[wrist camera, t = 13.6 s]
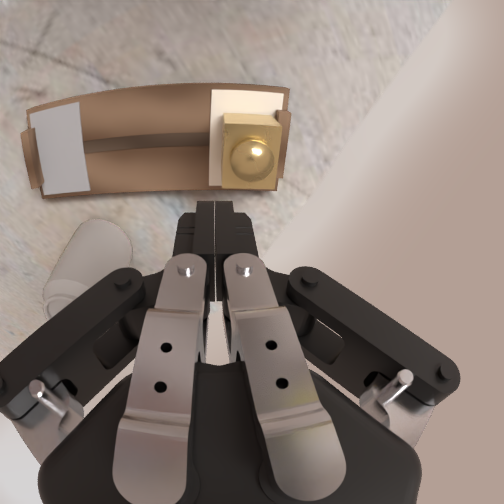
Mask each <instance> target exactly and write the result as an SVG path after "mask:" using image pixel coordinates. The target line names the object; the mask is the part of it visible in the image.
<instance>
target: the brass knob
mask: <svg viewBox="0 0 504 504" xmlns="http://www.w3.org/2000/svg"><path fill="white" fill-rule="evenodd" d="M282 127H283V126H282V125H280V124H279V123H278V122H277V121H276V120H275V119H274V118H273V117H272V116H271V115H261V114H243V113H223V127H222V149H221V181H222V188H236V189H275V183H276V175H277V167H278V159H279V151H280V143H281V135H282Z"/></svg>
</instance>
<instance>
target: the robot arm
mask: <svg viewBox="0 0 504 504" xmlns="http://www.w3.org/2000/svg"><path fill="white" fill-rule="evenodd" d="M215 267H216V297H217V301H222V306H223V324H224V330H225V336H226V343H227V349H228V354H229V361H230V363H229V364H226V365H221V366H217V365H211V364H206V349H207V334H208V333H207V332H208V320H209V318H208V315H209V313H210V301H215ZM317 319H318V320H319V321H321V322H322V323H324V324H325V325H326V326H328V327H329V328H331V329H332V330H333V331H335V332H336V333H337V334H339V335H340V336H341V337H342V338H341V337H340V336H338V335H337V334H335V333H334V332H333V331H331V330H330V329H329V328H327V327H326V326H324V325H323V324H321V323H320V322H319V321H318V320H317ZM116 322H117V323H116ZM109 328H110V329H109ZM135 357H136V358H135ZM134 358H135V363H134V368H133V373H131V374H130V375H128V376H126V377H125V378H124V379H122V380H121V381H120V382H119V383H118V384H116V385H115V387H114V388H113V389H112V390H111V391H110V392H109V393H108V394H107V395H106V396H105V397H104V398H103V399H102V400H101V401H100V402H99V403H98V404H97V405H96V406H95V407H94V408H93V410H91V411H90V412H89V414H88V415H87V416H86V417H85V418H84V410H83V407H84V406H85V405H86V404H87V403H88V402H89V401H90V400H91V399H92V398H93V397H94V396H95V395H96V394H98V393H99V392H100V391H101V390H102V389H103V388H104V387H105V386H106V385H107V384H108V383H109V382H110V381H111V380H112V379H113V378H114V377H115V376H116V375H117V374H119V373H120V372H121V371H122V370H123V369H124V368H125V367H126V366H127V365H128V364H129V363H130V362H131V361H132V360H133V359H134ZM305 358H306V359H307V360H308V361H310V362H311V363H312V364H313V365H315V366H316V367H317V368H319V369H320V370H321V371H323V372H324V373H325V374H327V375H328V376H329V377H330V378H332V379H333V380H334V381H336V382H337V383H339V384H340V385H341V386H342V387H344V388H345V389H346V390H348V391H349V392H350V393H352V394H353V395H355V396H356V397H357V398H359V399H360V400H359V404H360V407H359V406H358V405H357V404H355V403H354V402H353V401H352V400H350V399H349V398H348V397H346V396H345V395H344V394H343V393H341V392H340V391H339V390H338V389H336V388H335V387H334V386H333V385H332V384H330V383H329V382H328V381H326V380H325V379H324V378H323V377H322V376H320V375H318V374H317V373H315V372H314V371H312V370H310V369H308V366H307V363H306V360H305ZM459 384H460V373H459V370H458V368H457V366H456V364H455V363H454V362H453V361H452V360H451V359H450V358H448V357H447V356H445V355H444V354H442V353H441V352H440V351H438V350H437V349H435V348H434V347H432V346H431V345H429V344H428V343H427V342H425V341H424V340H423V339H421V338H420V337H418V336H417V335H415V334H414V333H412V332H411V331H410V330H408V329H407V328H405V327H404V326H402V325H401V324H399V323H398V322H396V321H395V320H393V319H392V318H390V317H389V316H387V315H386V314H385V313H383V312H382V311H380V310H379V309H377V308H376V307H374V306H372V305H371V304H370V303H368V302H367V301H365V300H364V299H362V298H361V297H359V296H358V295H356V294H355V293H353V292H352V291H350V290H349V289H347V288H346V287H344V286H342V285H341V284H340V283H338V282H337V281H335V280H334V279H332V278H331V277H329V276H328V275H326V274H325V273H323V272H321V271H320V270H318V269H316V268H313V267H306V266H305V267H298V268H296V269H294V270H293V271H292V272H291V273H290V275H286V274H282V273H277V272H274V271H271V270H270V269H268V268H266V267H265V264H264V262H263V261H262V260H261V259H260V258H259V256H258V251H257V246H256V241H255V237H254V232H253V228H252V222H251V219H250V218H249V217H248V216H247V215H246V214H245V213H234V210H233V202H232V201H215V245H214V201H197V207H196V213H184V214H183V215H182V216H181V217H180V218H179V220H178V226H177V231H176V237H175V243H174V250H173V256H172V258H171V259H170V260H169V261H168V262H167V263H166V266H165V269H164V270H162V271H161V272H158V273H155V274H152V275H148V276H144V277H142V274H141V273H140V272H139V271H138V270H136V269H134V268H128V267H125V268H119V269H116V270H114V271H112V272H111V273H109V274H108V275H107V276H105V277H104V278H103V279H101V280H100V281H98V282H97V283H96V284H94V285H93V286H92V287H90V288H89V289H88V290H86V291H85V292H84V293H83V294H81V295H80V296H79V297H77V298H76V299H75V300H73V301H72V302H71V303H70V304H68V305H67V306H66V307H65V308H63V309H62V310H61V311H60V312H58V313H57V314H56V315H55V316H53V317H52V318H51V319H50V320H48V321H47V322H46V323H45V324H44V325H42V326H41V327H40V328H39V329H37V330H36V331H35V332H34V333H33V334H32V335H30V336H29V337H28V338H27V339H26V340H25V341H23V342H22V343H21V344H20V345H19V346H18V347H17V348H15V349H14V350H13V351H12V352H11V353H10V354H9V355H8V356H6V357H5V358H4V359H3V360H2V361H1V362H0V412H1V413H3V414H4V416H6V417H7V418H8V419H10V420H11V421H12V423H13V424H14V426H15V428H16V429H17V431H18V433H19V434H20V436H21V438H22V439H23V441H24V442H25V444H26V445H27V447H28V448H29V449H30V451H31V453H32V454H33V455H34V457H35V458H36V460H37V461H38V462H39V464H40V465H41V467H40V470H39V474H38V489H39V494H40V497H41V500H42V502H43V504H416V501H417V495H418V491H419V487H420V483H421V477H422V470H421V463H420V460H419V457H418V455H417V453H416V452H415V450H414V447H415V446H416V444H417V442H418V440H419V438H420V436H421V434H422V433H423V431H424V429H425V427H426V425H427V423H428V421H429V418H430V417H431V414H432V412H433V410H434V408H435V406H436V405H437V404H439V403H440V402H441V401H442V400H444V399H445V398H446V397H448V396H449V395H450V394H451V393H453V392H454V391H455V390H456V389H457V388H458V386H459ZM83 418H84V419H83Z"/></svg>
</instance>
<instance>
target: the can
mask: <svg viewBox="0 0 504 504" xmlns="http://www.w3.org/2000/svg"><path fill="white" fill-rule="evenodd" d="M131 258H132V245H131V242H130V239H129V238H128V236H127V235H126V233H125V232H124V231H123V230H122V229H121V228H119V227H118V226H117V225H115V224H113V223H111V222H109V221H107V220H101V219H93V220H88V221H86V222H84V223H82V224H81V225H80V226H79V228H78V229H77V230H76V232H75V233H74V235H73V237H72V238H71V240H70V241H69V243H68V245H67V246H66V248H65V250H64V252H63V253H62V255H61V257H60V259H59V260H58V262H57V264H56V266H55V268H54V270H53V271H52V273H51V275H50V277H49V279H48V281H47V283H46V285H45V287H44V289H43V299H44V304H43V311H44V314H45V317H46V319H47V320H50V319H51V318H52V317H53V316H55V315H56V314H57V313H58V312H60V311H61V310H62V309H63V308H65V307H66V306H67V305H68V304H70V303H71V302H72V301H73V300H75V299H76V298H77V297H79V296H80V295H81V294H83V293H84V292H85V291H86V290H88V289H89V288H90V287H92V286H93V285H94V284H96V283H97V282H98V281H100V280H101V279H103V278H104V277H105V276H107V275H108V274H109V273H111V272H112V271H114V270H116V269H119V268H125V267H129V264H130V261H131Z"/></svg>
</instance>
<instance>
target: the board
mask: <svg viewBox="0 0 504 504" xmlns="http://www.w3.org/2000/svg"><path fill="white" fill-rule="evenodd" d="M289 91H290V89H289V88H286V87H277V86H266V85H254V84H236V83H178V84H161V85H148V86H138V87H129V88H121V89H114V90H108V91H101V92H96V93H90V94H85V95H80V96H75V97H71V98H66V99H62V100H58V101H54V102H50V103H46V104H43V105H39V106H36V107H33V108H31V109H28V110H26V112H27V121H28V129H27V130H26V131H24V132H22V133H20V134H21V140H22V146H23V152H24V157H25V162H26V167H27V172H28V176H29V180H30V184H31V188H32V189H34V188H39V187H40V191H41V195H42V199H47V198H57V197H67V196H78V195H90V194H104V193H120V192H139V191H167V190H263V191H277V186H278V178H283V173H284V165H285V158H286V151H287V143H288V136H289V128H290V120H291V113H290V112H289V111H287V108H288V99H289ZM223 113H243V114H261V115H271V116H272V117H273V118H274V119H275V120H276V121H277V122H278V123H279V124H280V125H282V126H283V127H282V135H281V143H280V151H279V159H278V167H277V175H276V183H275V189H236V188H222V181H221V149H222V127H223Z"/></svg>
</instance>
